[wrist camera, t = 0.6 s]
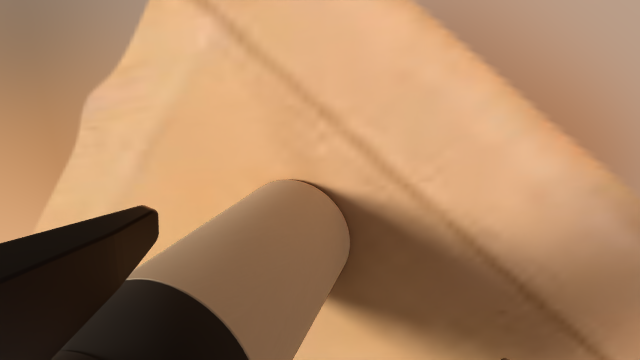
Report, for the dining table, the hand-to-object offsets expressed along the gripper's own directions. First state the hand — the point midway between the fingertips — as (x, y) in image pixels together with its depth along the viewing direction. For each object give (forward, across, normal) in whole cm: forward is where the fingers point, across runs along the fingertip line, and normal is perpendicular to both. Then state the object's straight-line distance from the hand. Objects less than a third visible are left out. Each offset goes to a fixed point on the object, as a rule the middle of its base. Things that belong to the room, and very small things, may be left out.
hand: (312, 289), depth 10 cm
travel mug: (+14, +4, +11) cm, 18 cm away
